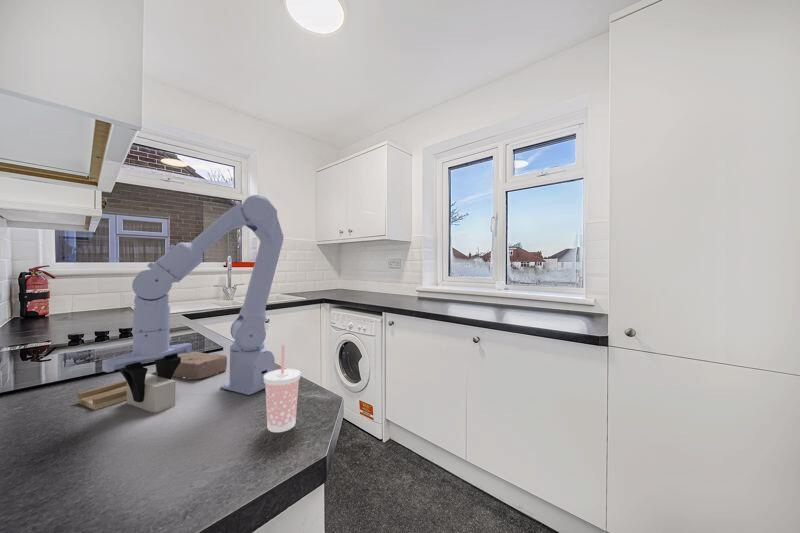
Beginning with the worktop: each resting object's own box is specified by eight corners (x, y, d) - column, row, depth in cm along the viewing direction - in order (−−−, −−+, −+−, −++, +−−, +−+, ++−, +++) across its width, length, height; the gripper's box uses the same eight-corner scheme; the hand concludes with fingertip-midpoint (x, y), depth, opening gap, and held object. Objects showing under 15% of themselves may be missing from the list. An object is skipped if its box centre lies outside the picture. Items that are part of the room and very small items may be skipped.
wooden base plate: (159, 389, 68) (160, 380, 68) (94, 410, 58) (95, 399, 58) (142, 384, 71) (142, 375, 71) (77, 403, 61) (77, 393, 61)
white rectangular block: (175, 405, 60) (175, 380, 60) (155, 413, 57) (155, 387, 57) (146, 396, 64) (147, 373, 64) (126, 403, 61) (126, 378, 61)
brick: (153, 373, 79) (153, 355, 79) (185, 364, 87) (185, 348, 87) (198, 383, 73) (198, 363, 73) (228, 372, 81) (228, 354, 81)
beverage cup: (271, 416, 56) (273, 341, 56) (304, 417, 56) (305, 341, 56) (255, 434, 50) (257, 350, 50) (292, 435, 50) (294, 350, 50)
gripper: (178, 322, 69) (177, 381, 69) (94, 334, 56) (92, 407, 56) (198, 324, 66) (197, 386, 66) (114, 338, 53) (112, 415, 53)
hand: (150, 396), depth 61 cm, fingers closed on white rectangular block, 3 cm apart
